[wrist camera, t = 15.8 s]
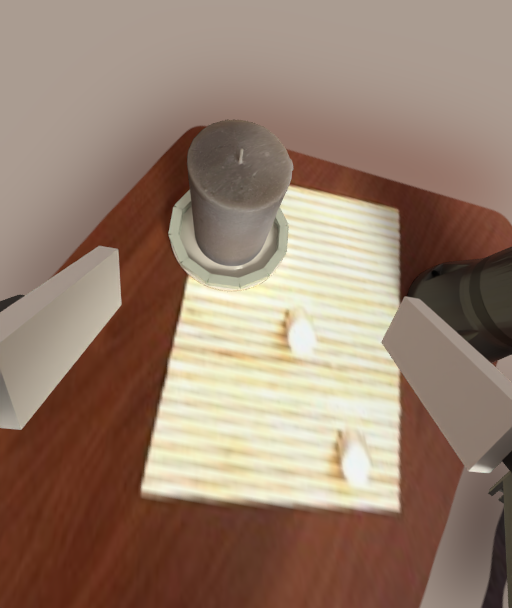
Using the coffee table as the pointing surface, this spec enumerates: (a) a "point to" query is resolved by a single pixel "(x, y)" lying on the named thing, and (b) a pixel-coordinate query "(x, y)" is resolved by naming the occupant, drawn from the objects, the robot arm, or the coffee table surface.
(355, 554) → the coffee table surface
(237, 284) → the candle plate
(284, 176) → the pillar candle
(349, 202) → the coffee table surface
